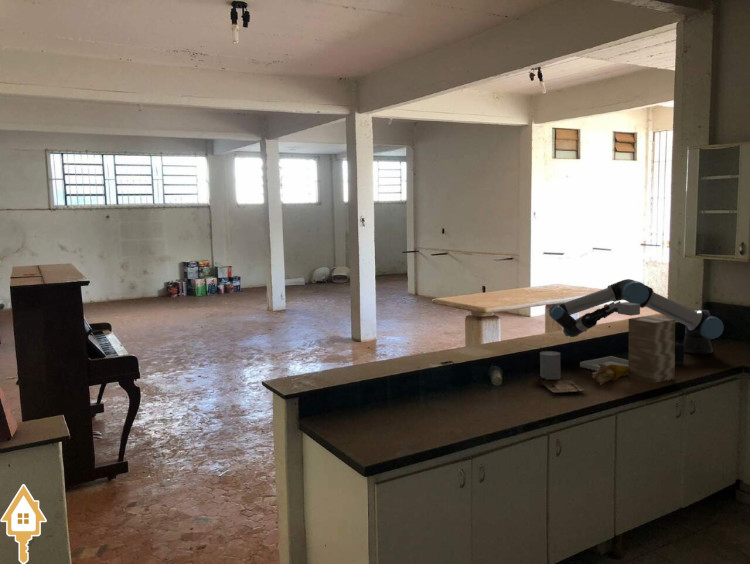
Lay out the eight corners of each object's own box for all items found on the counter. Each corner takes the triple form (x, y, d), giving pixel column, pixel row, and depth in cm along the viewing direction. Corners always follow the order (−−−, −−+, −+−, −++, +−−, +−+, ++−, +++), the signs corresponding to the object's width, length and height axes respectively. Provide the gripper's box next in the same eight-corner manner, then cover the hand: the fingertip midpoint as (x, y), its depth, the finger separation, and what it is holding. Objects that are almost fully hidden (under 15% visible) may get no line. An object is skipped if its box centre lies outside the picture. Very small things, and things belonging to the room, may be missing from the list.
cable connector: (610, 310, 306) (610, 300, 305) (639, 315, 289) (640, 304, 289) (601, 311, 303) (601, 301, 302) (631, 316, 287) (631, 305, 286)
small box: (684, 365, 303) (685, 344, 302) (671, 365, 303) (671, 345, 302) (674, 360, 314) (674, 340, 313) (662, 361, 314) (662, 341, 313)
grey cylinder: (560, 381, 284) (560, 355, 283) (539, 380, 287) (539, 355, 286) (561, 376, 293) (560, 351, 292) (540, 375, 296) (540, 350, 295)
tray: (611, 360, 318) (611, 356, 318) (651, 370, 296) (651, 365, 296) (580, 366, 309) (580, 362, 308) (619, 377, 286) (619, 372, 286)
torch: (629, 383, 287) (598, 386, 272) (616, 372, 293) (585, 375, 278) (637, 369, 284) (607, 372, 269) (624, 359, 289) (593, 361, 275)
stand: (649, 372, 292) (649, 315, 290) (674, 378, 280) (675, 319, 277) (628, 376, 286) (628, 318, 283) (653, 383, 274) (654, 322, 271)
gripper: (600, 326, 319) (632, 309, 300) (577, 330, 312) (608, 312, 292) (595, 313, 322) (626, 295, 302) (572, 316, 314) (602, 298, 295)
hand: (617, 304), depth 297 cm, fingers closed on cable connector, 3 cm apart
